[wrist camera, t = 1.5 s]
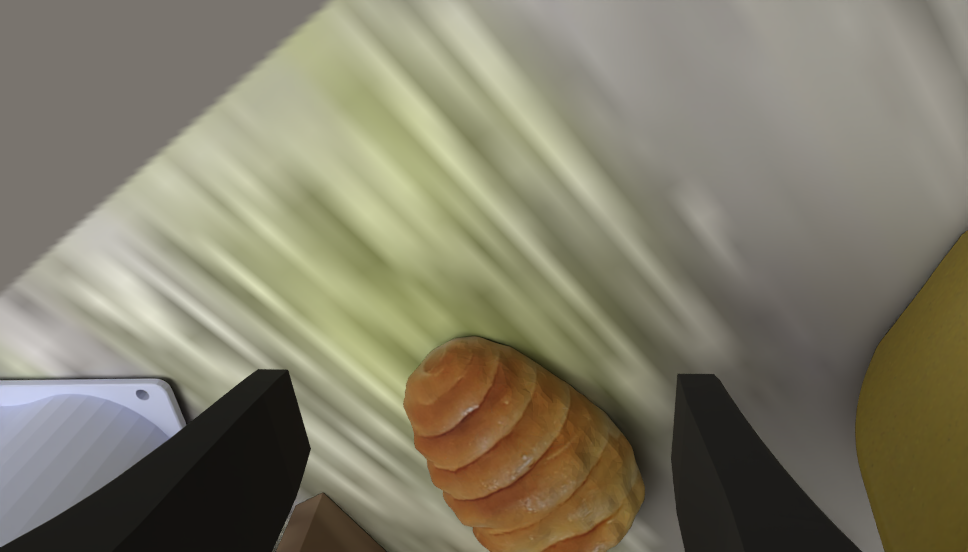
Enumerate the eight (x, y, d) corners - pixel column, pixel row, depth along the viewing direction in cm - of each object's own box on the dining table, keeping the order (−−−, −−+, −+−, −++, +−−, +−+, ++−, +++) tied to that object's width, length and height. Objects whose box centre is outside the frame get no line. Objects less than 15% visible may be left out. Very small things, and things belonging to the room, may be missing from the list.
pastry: (367, 380, 25) (337, 455, 22) (509, 289, 23) (500, 358, 19) (521, 527, 29) (516, 611, 25) (662, 461, 26) (677, 545, 23)
